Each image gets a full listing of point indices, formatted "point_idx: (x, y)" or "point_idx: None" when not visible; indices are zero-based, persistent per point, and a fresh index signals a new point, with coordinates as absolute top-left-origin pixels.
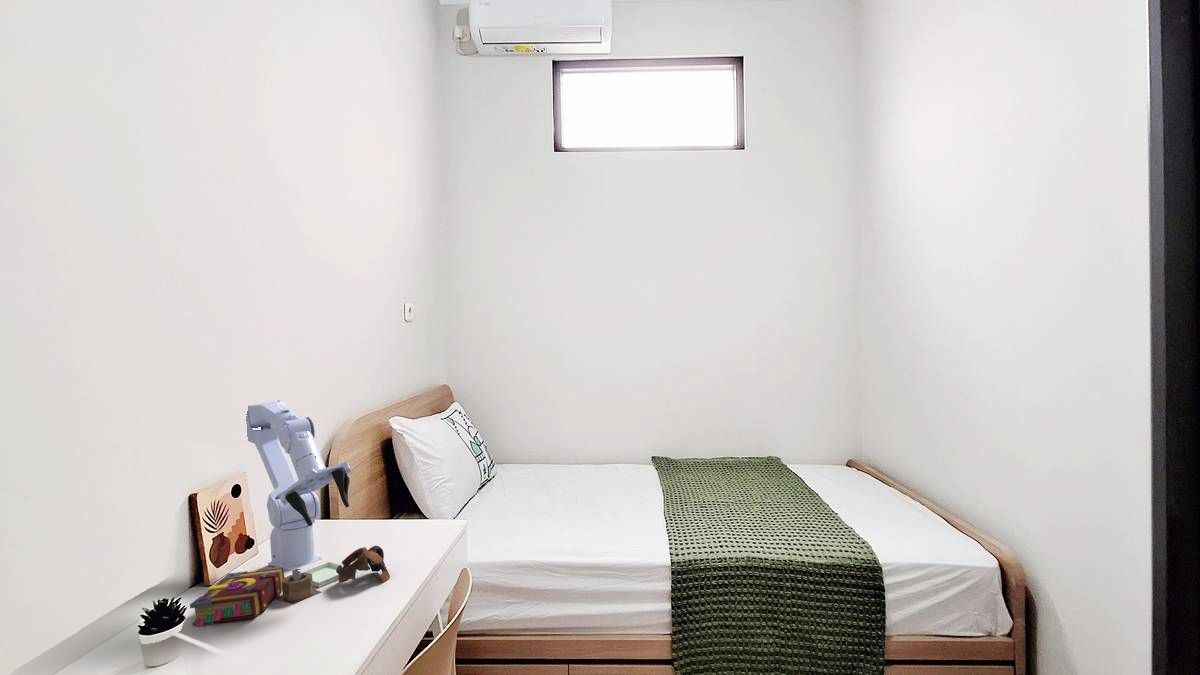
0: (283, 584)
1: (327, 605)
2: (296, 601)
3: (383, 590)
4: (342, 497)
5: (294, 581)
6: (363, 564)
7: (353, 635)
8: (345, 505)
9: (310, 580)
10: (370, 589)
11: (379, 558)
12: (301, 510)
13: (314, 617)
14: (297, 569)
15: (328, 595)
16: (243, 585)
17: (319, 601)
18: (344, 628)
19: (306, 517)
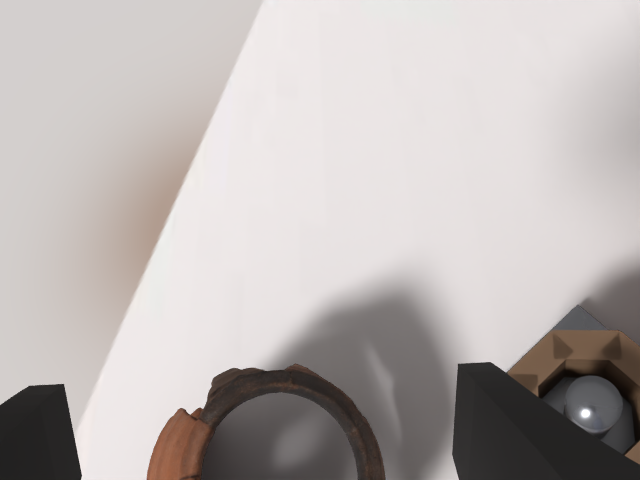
0: None
1: (422, 276)
2: None
3: (214, 357)
4: (13, 410)
5: (590, 350)
6: (229, 383)
7: (315, 32)
8: (65, 435)
9: None
10: None
11: (153, 452)
12: (558, 433)
13: (456, 177)
14: (592, 417)
15: (433, 392)
16: None
17: (464, 332)
18: (343, 76)
19: (488, 380)
